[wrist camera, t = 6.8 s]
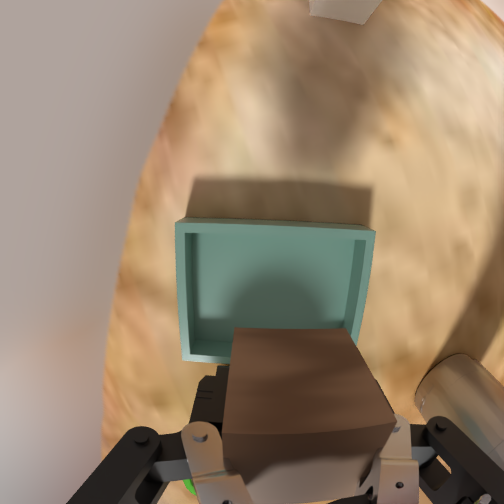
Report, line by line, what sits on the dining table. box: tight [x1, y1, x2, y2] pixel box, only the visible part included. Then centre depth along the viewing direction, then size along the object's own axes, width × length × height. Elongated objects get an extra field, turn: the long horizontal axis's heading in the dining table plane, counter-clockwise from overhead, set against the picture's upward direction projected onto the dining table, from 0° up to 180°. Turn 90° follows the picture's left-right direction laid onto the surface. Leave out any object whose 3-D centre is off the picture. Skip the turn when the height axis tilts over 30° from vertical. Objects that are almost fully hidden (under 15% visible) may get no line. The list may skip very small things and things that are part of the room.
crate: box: [175, 217, 376, 364], centre depth 22 cm, size 14×11×3 cm
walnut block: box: [222, 327, 397, 504], centre depth 10 cm, size 5×5×6 cm
